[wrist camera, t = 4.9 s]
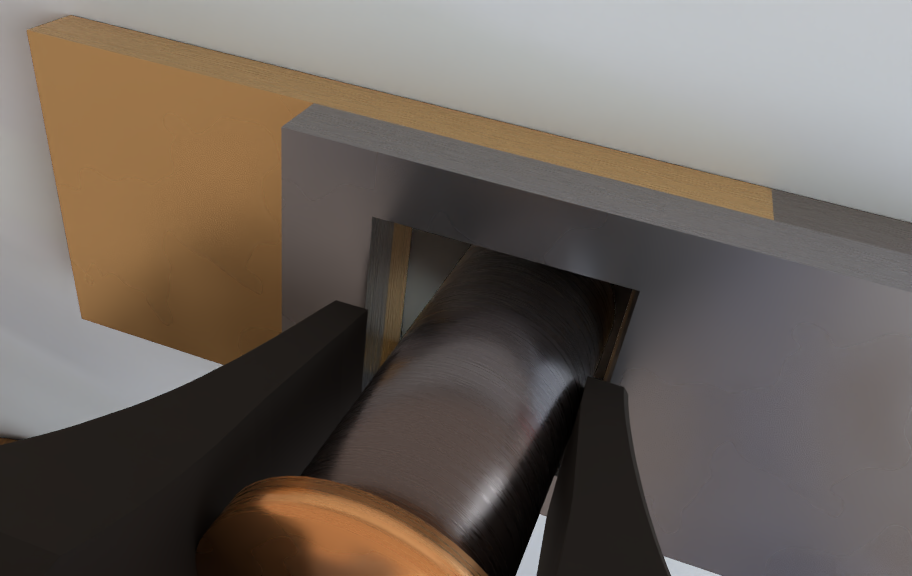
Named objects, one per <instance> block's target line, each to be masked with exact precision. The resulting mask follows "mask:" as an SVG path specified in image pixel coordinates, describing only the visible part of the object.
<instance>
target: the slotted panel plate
mask: <svg viewBox="0 0 912 576" xmlns="http://www.w3.org/2000/svg"><path fill="white" fill-rule="evenodd" d="M27 35H28V40H29V45H30V50H31V55H32V61H33V66H34V71H35V76H36V82H37V87H38V92H39V97H40V103H41V108H42V113H43V118H44V123H45V129H46V134H47V139H48V144H49V150H50V155H51V160H52V165H53V171H54V176H55V181H56V186H57V191H58V197H59V202H60V207H61V212H62V218H63V223H64V228H65V233H66V239H67V244H68V249H69V254H70V259H71V265H72V270H73V275H74V280H75V286H76V291H77V296H78V301H79V306H80V312H81V317H82V319H85V320H88V321H91V322H94V323H97V324H100V325H103V326H106V327H109V328H112V329H115V330H118V331H121V332H125V333H128V334H131V335H134V336H137V337H140V338H143V339H146V340H149V341H152V342H155V343H158V344H161V345H164V346H167V347H170V348H173V349H177V350H180V351H183V352H186V353H189V354H192V355H195V356H198V357H201V358H204V359H207V360H210V361H213V362H216V363H219V364H222V365H225V364H227V363H229V362H231V361H233V360H235V359H237V358H239V357H240V356H242V355H244V354H246V353H247V352H249V351H251V350H253V349H254V348H256V347H258V346H260V345H261V344H263V343H265V342H267V341H268V340H270V339H272V338H274V337H275V336H277V335H279V334H280V333H282V332H284V331H285V330H287V329H289V328H290V327H292V326H294V325H295V324H297V323H299V322H300V321H302V320H303V319H305V318H307V317H308V316H310V315H312V314H313V313H315V312H317V311H318V310H320V309H322V308H323V307H325V306H327V305H328V304H330V303H332V302H334V301H336V300H338V301H341V302H344V303H348V304H351V305H354V306H358V307H361V308H364V309H368V317H367V329H366V342H365V354H364V367H363V379H362V391H363V390H364V389H365V387H366V386H367V385H368V383H369V382H370V381H371V379H372V378H373V377H374V375H375V374H376V373H377V371H378V370H379V368H380V367H381V366H382V364H383V363H384V362H385V360H386V359H387V358H388V356H389V355H390V354H391V352H392V351H393V350H394V348H395V347H396V346H397V344H398V343H399V342H400V333H401V324H402V316H403V307H404V298H405V289H406V280H407V271H408V262H409V254H410V245H411V236H412V228H415V229H419V230H422V231H426V232H430V233H433V234H437V235H440V236H444V237H447V238H451V239H455V240H458V241H462V242H465V243H469V244H473V245H476V246H480V247H483V248H487V249H491V250H494V251H498V252H501V253H505V254H508V255H512V256H516V257H519V258H523V259H526V260H530V261H534V262H537V263H541V264H544V265H548V266H551V267H555V268H559V269H562V270H566V271H569V272H573V273H577V274H580V275H584V276H587V277H591V278H595V279H598V280H602V281H605V282H609V283H612V284H616V285H620V286H623V287H627V288H630V289H633V290H632V293H631V296H630V299H629V302H628V305H627V308H626V311H625V314H624V317H623V320H622V324H621V327H620V330H619V333H618V336H617V339H616V342H615V345H614V348H613V351H612V355H611V358H610V361H609V364H608V367H607V370H606V373H605V376H604V379H603V381H606V382H609V383H613V384H616V385H619V386H622V387H624V388H625V389H626V391H627V393H628V394H629V395H628V404H629V418H630V427H631V434H632V440H633V446H634V452H635V457H636V462H637V466H638V470H639V475H640V479H641V483H642V487H643V491H644V496H645V499H646V503H647V506H648V510H649V514H650V517H651V520H652V523H653V526H654V530H655V533H656V536H657V539H658V542H659V545H660V548H661V551H662V554H663V556H665V557H668V558H671V559H674V560H677V561H680V562H683V563H686V564H689V565H692V566H695V567H698V568H701V569H704V570H707V571H710V572H713V573H716V574H719V575H722V576H912V223H908V222H904V221H900V220H896V219H892V218H888V217H884V216H880V215H876V214H872V213H868V212H864V211H859V210H855V209H851V208H847V207H843V206H839V205H835V204H831V203H827V202H823V201H819V200H815V199H811V198H807V197H803V196H799V195H795V194H791V193H787V192H783V191H779V190H775V189H771V188H767V187H763V186H759V185H755V184H750V183H746V182H742V181H738V180H734V179H730V178H726V177H722V176H718V175H714V174H710V173H706V172H702V171H698V170H694V169H690V168H686V167H682V166H678V165H674V164H670V163H666V162H662V161H658V160H654V159H650V158H645V157H641V156H637V155H633V154H629V153H625V152H621V151H617V150H613V149H609V148H605V147H601V146H597V145H593V144H589V143H585V142H581V141H577V140H573V139H569V138H565V137H561V136H557V135H553V134H549V133H545V132H541V131H536V130H532V129H528V128H524V127H520V126H516V125H512V124H508V123H504V122H500V121H496V120H492V119H488V118H484V117H480V116H476V115H472V114H468V113H464V112H460V111H456V110H452V109H448V108H444V107H440V106H436V105H432V104H427V103H423V102H419V101H415V100H411V99H407V98H403V97H399V96H395V95H391V94H387V93H383V92H379V91H375V90H371V89H367V88H363V87H359V86H355V85H351V84H347V83H343V82H339V81H335V80H331V79H327V78H323V77H318V76H314V75H310V74H306V73H302V72H298V71H294V70H290V69H286V68H282V67H278V66H274V65H270V64H266V63H262V62H258V61H254V60H250V59H246V58H242V57H238V56H234V55H230V54H226V53H222V52H218V51H213V50H209V49H205V48H201V47H197V46H193V45H189V44H185V43H181V42H177V41H173V40H169V39H165V38H161V37H157V36H153V35H149V34H145V33H141V32H137V31H133V30H129V29H125V28H121V27H117V26H113V25H109V24H104V23H100V22H96V21H92V20H88V19H84V18H80V17H76V16H72V15H70V16H67V17H64V18H61V19H58V20H55V21H52V22H49V23H46V24H43V25H40V26H37V27H34V28H31V29H28V30H27ZM361 393H362V392H361ZM565 449H566V447H565ZM564 452H565V450H564ZM564 452H563V455H564ZM563 455H562V458H563ZM562 458H561V460H560V463H559V465H558V468H557V470H556V473H555V476H554V478H553V481H552V483H551V486H550V488H549V491H548V493H547V496H546V499H545V501H544V504H543V506H542V509H541V511H540V514H541V515H544V516H547V512H548V509H549V505H550V502H551V498H552V494H553V491H554V487H555V483H556V480H557V476H558V473H559V469H560V465H561V462H562Z"/></svg>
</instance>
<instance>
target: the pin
mask: <svg viewBox="0 0 912 576" xmlns="http://www.w3.org/2000/svg"><path fill="white" fill-rule="evenodd" d="M614 319H615V299H614V294H613V290H612V287H611V285H610V283H609V282H605V281H602V280H598V279H595V278H591V277H587V276H584V275H580V274H577V273H573V272H569V271H566V270H562V269H559V268H555V267H551V266H548V265H544V264H541V263H537V262H534V261H530V260H526V259H523V258H519V257H516V256H512V255H508V254H505V253H501V252H498V251H494V250H491V249H487V248H483V247H480V246H476V245H473V244H472V245H471V246H470V248H469V249H468V250H467V251H466V253H465V254H464V255H463V257H462V258H461V259H460V261H459V262H458V263H457V265H456V266H455V267H454V269H453V270H452V271H451V273H450V274H449V276H448V277H447V278H446V280H445V281H444V282H443V284H442V285H441V286H440V288H439V289H438V290H437V292H436V293H435V294H434V296H433V297H432V298H431V300H430V301H429V302H428V304H427V305H426V307H425V308H424V309H423V311H422V312H421V313H420V315H419V316H418V317H417V319H416V320H415V321H414V323H413V324H412V325H411V327H410V328H409V329H408V331H407V332H406V333H405V335H404V336H403V337H402V339H401V340H400V342H399V343H398V344H397V346H396V347H395V348H394V350H393V351H392V352H391V354H390V355H389V356H388V358H387V359H386V360H385V362H384V363H383V364H382V366H381V367H380V368H379V370H378V371H377V373H376V374H375V375H374V377H373V378H372V379H371V381H370V382H369V383H368V385H367V386H366V387H365V389H364V390H363V391H362V393H361V394H360V395H359V397H358V398H357V399H356V401H355V402H354V403H353V405H352V406H351V408H350V409H349V410H348V412H347V413H346V414H345V416H344V417H343V418H342V420H341V421H340V422H339V424H338V425H337V426H336V428H335V429H334V430H333V432H332V433H331V434H330V436H329V437H328V439H327V440H326V441H325V443H324V444H323V445H322V447H321V448H320V449H319V451H318V452H317V453H316V455H315V456H314V457H313V459H312V460H311V461H310V463H309V464H308V465H307V467H306V468H305V469H304V471H303V472H302V474H301V475H300V476H281V477H271V478H267V479H263V480H260V481H257V482H254V483H252V484H250V485H248V486H246V487H245V488H244V489H242V490H241V491H240V492H239V493H237V494H236V496H235V497H234V498H233V499H232V500H231V502H230V503H229V504H228V505H227V507H226V508H225V509H224V510H223V512H222V513H221V514H220V515H219V517H218V518H217V519H216V520H215V521H214V523H213V524H212V525H211V526H210V528H209V529H208V530H207V531H206V533H205V534H204V535H203V537H202V538H201V540H200V541H199V544H198V547H197V550H196V557H195V563H196V569H197V575H198V576H515V575H516V573H517V570H518V568H519V565H520V563H521V560H522V558H523V555H524V552H525V550H526V547H527V545H528V542H529V540H530V537H531V534H532V532H533V529H534V527H535V524H536V522H537V519H538V517H539V514H540V511H541V509H542V506H543V504H544V501H545V499H546V496H547V493H548V491H549V488H550V486H551V483H552V481H553V478H554V476H555V473H556V470H557V468H558V465H559V463H560V460H561V458H562V455H563V452H564V450H565V447H566V445H567V442H568V440H569V437H570V435H571V432H572V429H573V425H574V422H575V418H576V415H577V411H578V408H579V404H580V401H581V397H582V393H583V390H584V387H585V383H586V380H587V377H588V376H589V377H593V376H594V373H595V370H596V368H597V365H598V363H599V360H600V358H601V355H602V353H603V350H604V347H605V345H606V342H607V340H608V337H609V335H610V332H611V329H612V327H613V324H614Z"/></svg>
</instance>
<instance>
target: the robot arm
mask: <svg viewBox="0 0 912 576" xmlns="http://www.w3.org/2000/svg"><path fill="white" fill-rule="evenodd" d="M367 317H368V309H364V308H361V307H358V306H354V305H351V304H348V303H344V302H341V301H338V300H336V301H334V302H332V303H330V304H328V305H327V306H325V307H323V308H322V309H320V310H318V311H317V312H315V313H313V314H312V315H310V316H308V317H307V318H305V319H303V320H302V321H300V322H299V323H297V324H295V325H294V326H292V327H290V328H289V329H287V330H285V331H284V332H282V333H280V334H279V335H277V336H275V337H274V338H272V339H270V340H268V341H267V342H265V343H263V344H261V345H260V346H258V347H256V348H254V349H253V350H251V351H249V352H247V353H246V354H244V355H242V356H240V357H239V358H237V359H235V360H233V361H231V362H229V363H227V364H225V365H223V366H221V367H219V368H217V369H215V370H213V371H212V372H210V373H208V374H206V375H204V376H202V377H200V378H198V379H196V380H194V381H192V382H190V383H187V384H185V385H183V386H181V387H178V388H176V389H174V390H172V391H169V392H167V393H164V394H162V395H160V396H157V397H155V398H152V399H150V400H147V401H145V402H142V403H140V404H137V405H134V406H132V407H129V408H126V409H123V410H120V411H117V412H114V413H111V414H108V415H105V416H102V417H99V418H96V419H93V420H90V421H87V422H84V423H81V424H78V425H75V426H72V427H68V428H65V429H61V430H58V431H54V432H50V433H47V434H43V435H39V436H35V437H31V438H27V439H23V440H19V441H15V442H11V443H7V444H3V445H0V576H198V575H197V569H196V563H195V557H196V550H197V547H198V544H199V541H200V540H201V538H202V537H203V535H204V534H205V533H206V531H207V530H208V529H209V528H210V526H211V525H212V524H213V523H214V521H215V520H216V519H217V518H218V517H219V515H220V514H221V513H222V512H223V510H224V509H225V508H226V507H227V505H228V504H229V503H230V502H231V500H232V499H233V498H234V497H235V496H236V494H237V493H239V492H240V491H241V490H242V489H244V488H245V487H246V486H248V485H250V484H252V483H254V482H257V481H260V480H263V479H267V478H271V477H281V476H300V475H301V474H302V472H303V471H304V469H305V468H306V467H307V465H308V464H309V463H310V461H311V460H312V459H313V457H314V456H315V455H316V453H317V452H318V451H319V449H320V448H321V447H322V445H323V444H324V443H325V441H326V440H327V439H328V437H329V436H330V434H331V433H332V432H333V430H334V429H335V428H336V426H337V425H338V424H339V422H340V421H341V420H342V418H343V417H344V416H345V414H346V413H347V412H348V410H349V409H350V408H351V406H352V405H353V403H354V402H355V401H356V399H357V398H358V397H359V395H360V394H361V392H362V379H363V367H364V354H365V342H366V329H367ZM628 395H629V394H628V393H627V391H626V389H625V388H624V387H622V386H619V385H616V384H613V383H609V382H606V381H603V380H599V379H596V378H593V377H589V376H588V377H587V380H586V383H585V387H584V390H583V393H582V397H581V401H580V404H579V408H578V411H577V415H576V418H575V422H574V425H573V429H572V432H571V435H570V437H569V440H568V442H567V445H566V449H565V452H564V455H563V458H562V462H561V465H560V469H559V473H558V476H557V480H556V483H555V487H554V491H553V494H552V498H551V502H550V505H549V509H548V512H547V518H546V524H545V530H544V535H543V541H542V547H541V553H540V559H539V565H538V571H537V576H671V575H670V572H669V570H668V567H667V565H666V562H665V559H664V556H663V554H662V551H661V548H660V545H659V542H658V539H657V536H656V533H655V530H654V526H653V523H652V520H651V517H650V514H649V510H648V506H647V503H646V499H645V496H644V491H643V487H642V483H641V479H640V475H639V470H638V466H637V462H636V457H635V452H634V446H633V440H632V434H631V427H630V418H629V404H628Z"/></svg>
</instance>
